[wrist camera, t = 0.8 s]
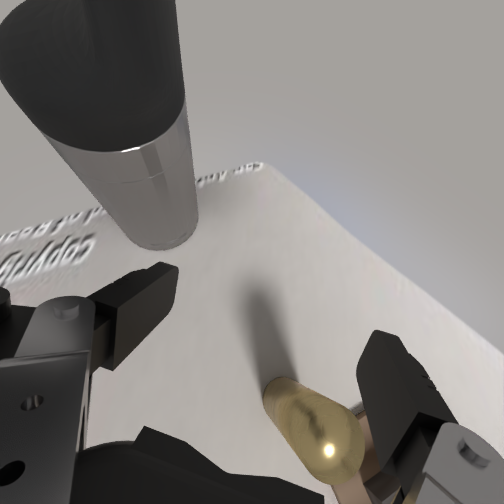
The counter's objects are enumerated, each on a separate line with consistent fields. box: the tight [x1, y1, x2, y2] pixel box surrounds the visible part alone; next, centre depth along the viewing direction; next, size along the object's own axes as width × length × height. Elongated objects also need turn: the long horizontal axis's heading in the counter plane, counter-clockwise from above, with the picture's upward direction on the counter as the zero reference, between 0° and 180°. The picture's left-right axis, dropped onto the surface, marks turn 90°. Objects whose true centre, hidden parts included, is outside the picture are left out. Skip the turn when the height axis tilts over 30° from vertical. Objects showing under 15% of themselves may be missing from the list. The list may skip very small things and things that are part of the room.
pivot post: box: [263, 377, 365, 485], centre depth 22 cm, size 4×4×12 cm
